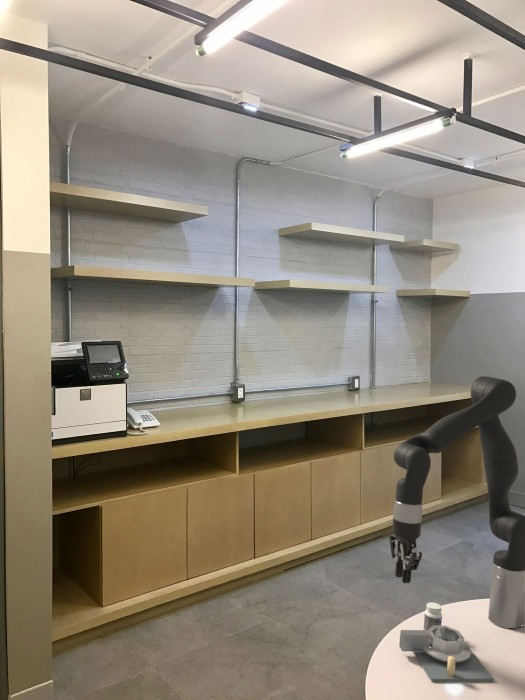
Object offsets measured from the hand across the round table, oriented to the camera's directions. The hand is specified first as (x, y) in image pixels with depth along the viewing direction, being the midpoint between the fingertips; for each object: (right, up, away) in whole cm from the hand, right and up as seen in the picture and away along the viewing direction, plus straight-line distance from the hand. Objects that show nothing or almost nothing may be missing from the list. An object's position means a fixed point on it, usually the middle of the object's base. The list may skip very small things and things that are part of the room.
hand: (402, 579), depth 158 cm
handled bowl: (+7, -16, -6) cm, 18 cm away
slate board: (+10, -18, -8) cm, 22 cm away
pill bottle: (+9, -18, +5) cm, 21 cm away
